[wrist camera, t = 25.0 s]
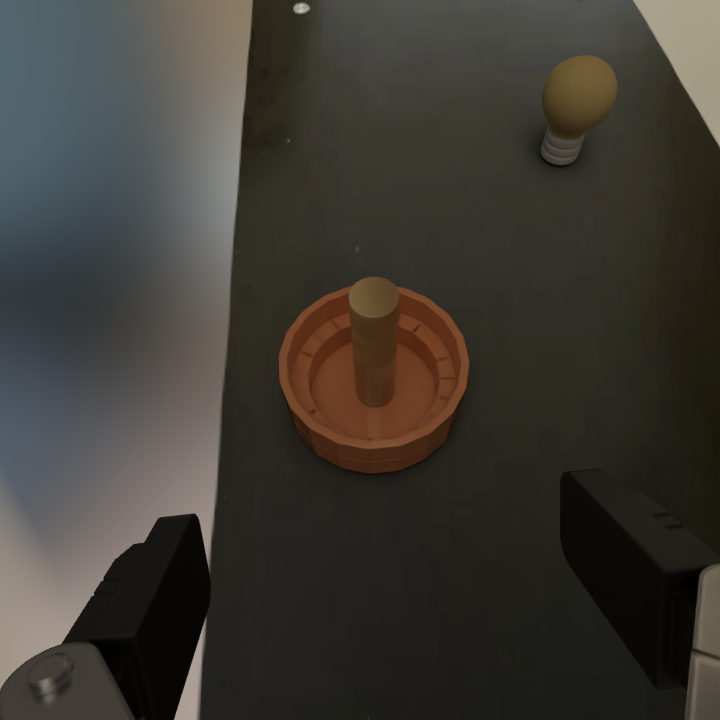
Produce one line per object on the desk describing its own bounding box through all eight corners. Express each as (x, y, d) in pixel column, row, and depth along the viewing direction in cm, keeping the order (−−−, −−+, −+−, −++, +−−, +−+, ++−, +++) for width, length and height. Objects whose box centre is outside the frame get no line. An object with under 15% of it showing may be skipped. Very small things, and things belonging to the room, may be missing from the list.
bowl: (293, 485, 39) (281, 458, 34) (287, 333, 45) (276, 293, 41) (474, 465, 39) (487, 436, 34) (441, 317, 46) (449, 276, 41)
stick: (358, 409, 41) (350, 320, 31) (354, 375, 42) (346, 279, 32) (396, 405, 41) (403, 314, 31) (391, 371, 42) (395, 273, 32)
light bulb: (538, 182, 54) (568, 88, 45) (517, 141, 57) (542, 46, 48) (599, 173, 54) (641, 77, 45) (575, 133, 57) (609, 37, 49)
